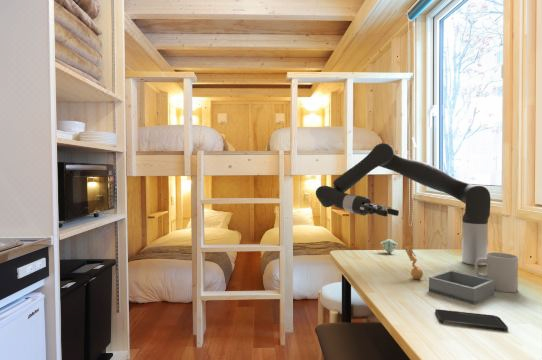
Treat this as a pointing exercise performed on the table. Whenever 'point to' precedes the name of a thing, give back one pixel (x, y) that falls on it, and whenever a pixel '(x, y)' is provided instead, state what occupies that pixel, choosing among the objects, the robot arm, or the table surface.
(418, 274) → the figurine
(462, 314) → the phone
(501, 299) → the table surface
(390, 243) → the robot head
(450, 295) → the tote
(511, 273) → the mug
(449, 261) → the table surface
